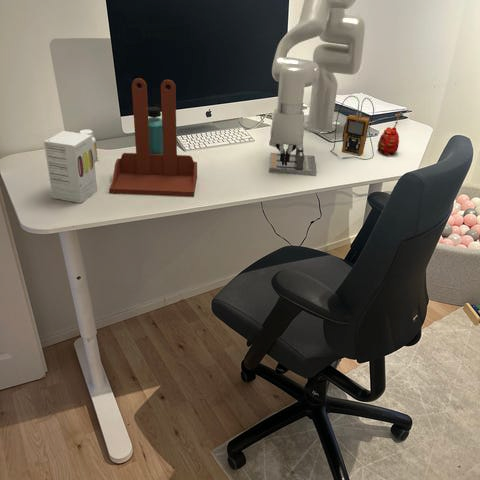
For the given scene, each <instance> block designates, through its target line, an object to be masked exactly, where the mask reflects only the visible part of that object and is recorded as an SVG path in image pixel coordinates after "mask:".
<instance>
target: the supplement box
mask: <svg viewBox="0 0 480 480" xmlns="http://www.w3.org/2000/svg"><path fill="white" fill-rule="evenodd" d="M92 137H93V136H92V135H88V134H81V133H79V132H73V131H67V130H62V131H60V132H58V133H57V134H55V135H53V136H52V137H50V138H47V139H46V140H44V141H43V146H44V150H45V151H44V152H45V157H46V164H47V169H48V177H49V183H50V184H49V185H50V189H51V195H52V198H53V199H56V200H62V201H68V202H73V203H79V204H82V203H83V202H85V201H86V200H87V199H88V198H90V197H91V196H92V195H93V194H95V193H96V192H97V191H98V182H97V174H96V164H95V163H96V162H94V153H93V143H92Z"/></svg>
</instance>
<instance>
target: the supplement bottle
mask: <svg viewBox="0 0 480 480" xmlns="http://www.w3.org/2000/svg"><path fill="white" fill-rule="evenodd" d="M78 133H81V134H88V135H92V143H93V153H94V162H95V163H96V162H97V161H98V151H97V141H96V138H95V137H94V132H93V130H91V129H81V130H80V131H79V132H78Z"/></svg>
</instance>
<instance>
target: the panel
mask: <svg viewBox="0 0 480 480" xmlns="http://www.w3.org/2000/svg"><path fill="white" fill-rule="evenodd" d="M280 154H281V153H280V152H270V157H269V169H268V173H269V174H270V173H271V174H285V175H296V174H297V176H298V175H299V176H300V175H301V176H311V177H313V176H314V177H316V176H317V172H318V171H317V164H316V156H315V155H309V154H307V155H306V154H304V162H303V169H296V164H297V163H296V153H291V154H290V160H289V162H287V166H285V161H284V165H282V162H280Z"/></svg>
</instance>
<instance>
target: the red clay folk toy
mask: <svg viewBox="0 0 480 480" xmlns="http://www.w3.org/2000/svg"><path fill="white" fill-rule="evenodd" d="M401 115H402V111H401V110H400V112H399V113H396V114H395V117H397V119H396V121H395V124H394V126H393V127H390V126H389V127H386V129H384V131H383V133H382V134H381V135H380V138H379V140H378V143H377V152H379V154H381V155H382V156H384V157H389V156H394V155H395V154H396V153H397V152H398V149H399V143H400V135H399V132H398V131H397V128H396V126H397V125H398V120H399V118H400V116H401Z"/></svg>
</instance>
